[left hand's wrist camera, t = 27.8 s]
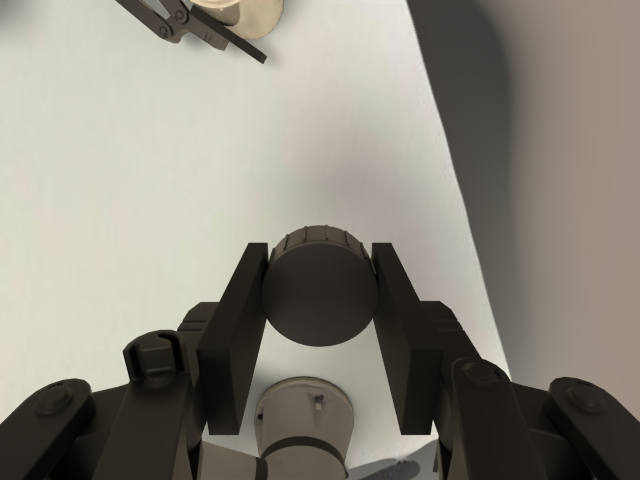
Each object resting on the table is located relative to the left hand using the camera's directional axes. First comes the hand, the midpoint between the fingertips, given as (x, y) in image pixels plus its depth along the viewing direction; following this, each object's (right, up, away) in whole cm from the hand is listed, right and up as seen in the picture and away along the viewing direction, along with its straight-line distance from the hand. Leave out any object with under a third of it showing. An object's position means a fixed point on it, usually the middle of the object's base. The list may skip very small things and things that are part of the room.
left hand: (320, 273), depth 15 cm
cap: (0, -1, -2) cm, 2 cm away
